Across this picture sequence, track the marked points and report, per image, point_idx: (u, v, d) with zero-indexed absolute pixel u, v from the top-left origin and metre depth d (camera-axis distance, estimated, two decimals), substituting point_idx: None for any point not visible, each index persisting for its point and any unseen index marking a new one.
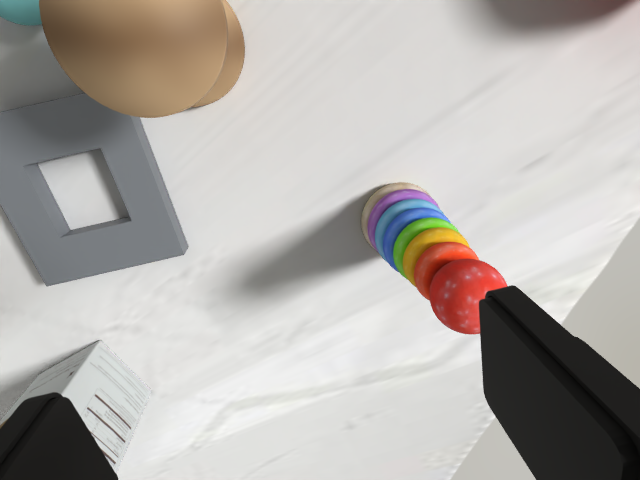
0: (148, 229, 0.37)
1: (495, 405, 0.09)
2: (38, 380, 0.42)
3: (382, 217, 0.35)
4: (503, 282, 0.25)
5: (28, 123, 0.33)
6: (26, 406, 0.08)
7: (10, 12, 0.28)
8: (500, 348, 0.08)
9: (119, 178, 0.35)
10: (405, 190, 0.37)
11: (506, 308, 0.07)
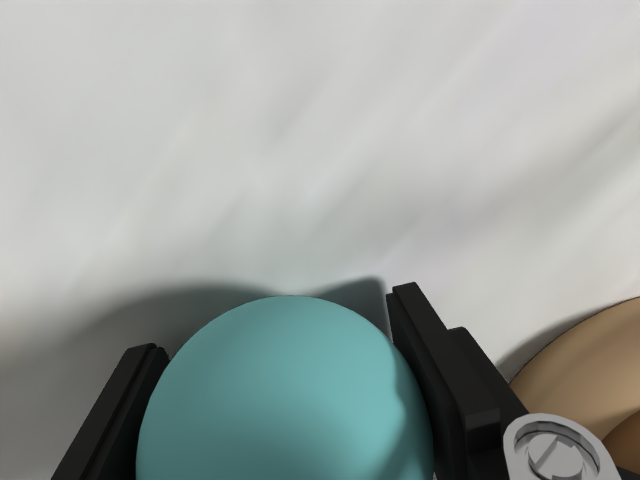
0: None
1: None
2: None
3: None
4: None
5: None
6: (132, 353, 0.09)
7: None
8: (399, 337, 0.09)
9: None
10: None
11: (401, 302, 0.08)
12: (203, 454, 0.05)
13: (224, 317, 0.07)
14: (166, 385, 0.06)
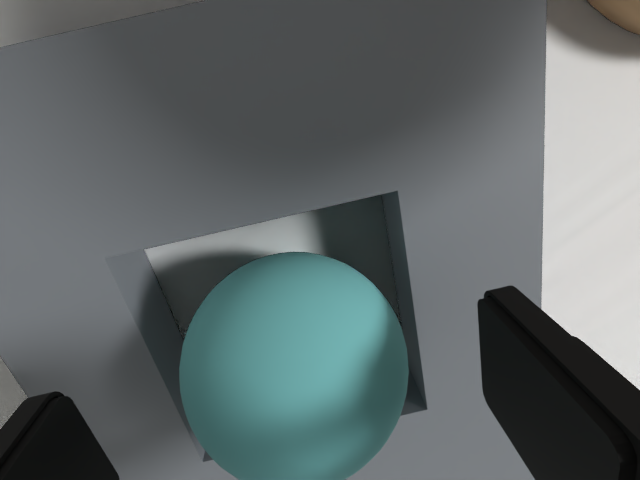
0: (466, 427, 0.12)
1: (494, 405, 0.09)
2: None
3: None
4: None
5: (142, 93, 0.08)
6: (28, 405, 0.08)
7: None
8: (499, 348, 0.08)
9: (431, 291, 0.10)
10: None
11: (504, 308, 0.07)
12: (243, 351, 0.07)
13: (243, 267, 0.09)
14: (204, 315, 0.08)
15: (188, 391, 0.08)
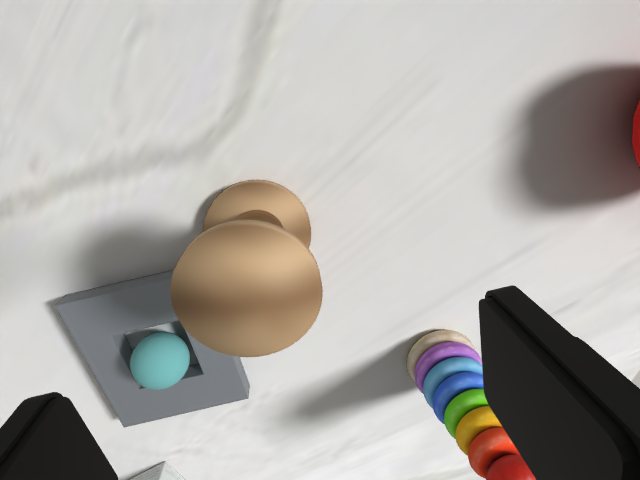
0: (218, 380, 0.41)
1: (495, 406, 0.09)
2: None
3: (431, 375, 0.39)
4: None
5: (119, 303, 0.37)
6: (26, 406, 0.08)
7: None
8: (500, 348, 0.08)
9: (195, 342, 0.39)
10: (450, 346, 0.41)
11: (506, 308, 0.07)
12: (142, 358, 0.36)
13: (145, 338, 0.38)
14: (135, 350, 0.37)
15: (131, 367, 0.37)
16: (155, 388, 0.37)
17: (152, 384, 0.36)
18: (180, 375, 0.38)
